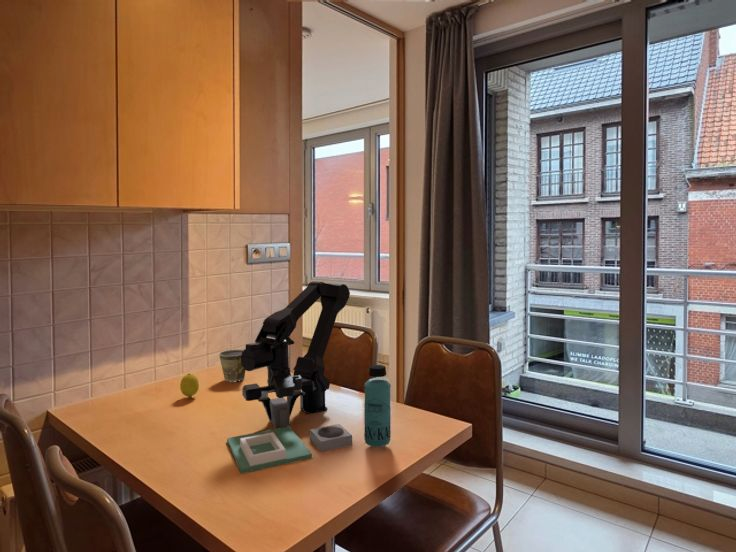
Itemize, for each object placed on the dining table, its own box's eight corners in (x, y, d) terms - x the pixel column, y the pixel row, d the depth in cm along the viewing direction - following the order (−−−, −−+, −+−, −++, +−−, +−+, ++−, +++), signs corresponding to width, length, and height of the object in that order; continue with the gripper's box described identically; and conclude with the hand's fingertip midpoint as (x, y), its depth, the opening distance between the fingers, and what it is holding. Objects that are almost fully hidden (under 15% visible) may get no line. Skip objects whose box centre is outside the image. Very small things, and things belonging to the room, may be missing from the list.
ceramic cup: (214, 380, 170) (214, 352, 169) (239, 374, 177) (238, 348, 177) (234, 387, 161) (233, 358, 161) (259, 381, 169) (258, 353, 168)
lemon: (202, 395, 153) (201, 371, 152) (191, 401, 148) (190, 376, 147) (188, 394, 155) (187, 370, 154) (176, 399, 149) (175, 374, 149)
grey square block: (339, 433, 122) (339, 423, 122) (352, 445, 115) (352, 434, 115) (310, 439, 119) (310, 428, 118) (321, 451, 111) (321, 440, 111)
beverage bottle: (363, 442, 116) (362, 362, 115) (389, 441, 117) (389, 361, 116) (365, 454, 110) (364, 370, 108) (393, 452, 111) (392, 369, 109)
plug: (283, 418, 133) (283, 397, 133) (290, 426, 127) (290, 405, 126) (269, 420, 131) (269, 399, 131) (276, 429, 125) (275, 407, 124)
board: (289, 430, 124) (289, 419, 124) (312, 457, 108) (311, 445, 108) (227, 441, 117) (226, 430, 117) (241, 473, 101) (241, 460, 101)
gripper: (249, 374, 117) (251, 435, 118) (320, 365, 125) (321, 422, 126) (241, 364, 127) (242, 420, 128) (307, 356, 135) (308, 409, 136)
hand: (279, 418), depth 129 cm, fingers open, 5 cm apart
